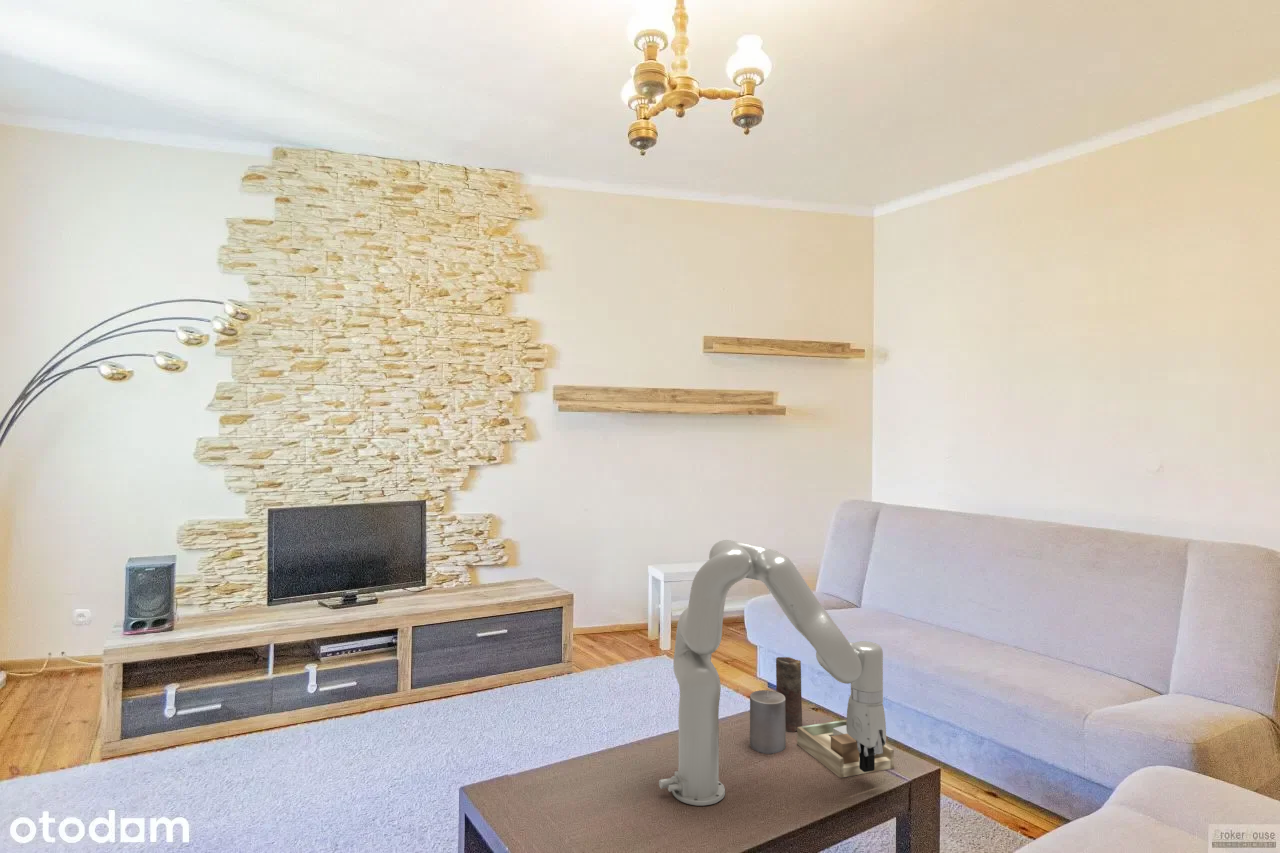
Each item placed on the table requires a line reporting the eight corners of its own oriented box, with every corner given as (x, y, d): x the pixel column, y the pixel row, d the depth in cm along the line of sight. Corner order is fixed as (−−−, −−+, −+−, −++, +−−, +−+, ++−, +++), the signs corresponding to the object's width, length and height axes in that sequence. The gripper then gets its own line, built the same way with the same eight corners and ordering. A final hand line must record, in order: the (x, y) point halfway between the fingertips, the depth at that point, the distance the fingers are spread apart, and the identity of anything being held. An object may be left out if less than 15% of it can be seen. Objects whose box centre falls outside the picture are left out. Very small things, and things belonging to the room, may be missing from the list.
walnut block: (842, 764, 178) (842, 744, 178) (830, 755, 183) (830, 736, 183) (859, 761, 180) (859, 741, 180) (847, 752, 185) (847, 733, 185)
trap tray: (840, 779, 176) (840, 758, 176) (797, 745, 195) (797, 727, 195) (893, 769, 181) (893, 749, 181) (846, 737, 200) (846, 719, 200)
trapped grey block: (845, 751, 190) (845, 734, 191) (833, 744, 194) (833, 728, 194) (857, 747, 193) (857, 731, 193) (845, 741, 197) (845, 725, 197)
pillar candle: (753, 736, 200) (753, 683, 200) (788, 741, 197) (788, 687, 197) (746, 751, 191) (746, 696, 191) (783, 756, 188) (783, 700, 188)
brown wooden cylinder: (772, 723, 210) (772, 655, 210) (795, 721, 211) (795, 654, 211) (782, 734, 202) (782, 663, 202) (806, 732, 203) (806, 662, 204)
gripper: (835, 685, 179) (835, 758, 179) (873, 707, 165) (873, 786, 165) (860, 682, 181) (861, 754, 181) (899, 703, 167) (900, 781, 167)
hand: (867, 769), depth 173 cm, fingers closed
